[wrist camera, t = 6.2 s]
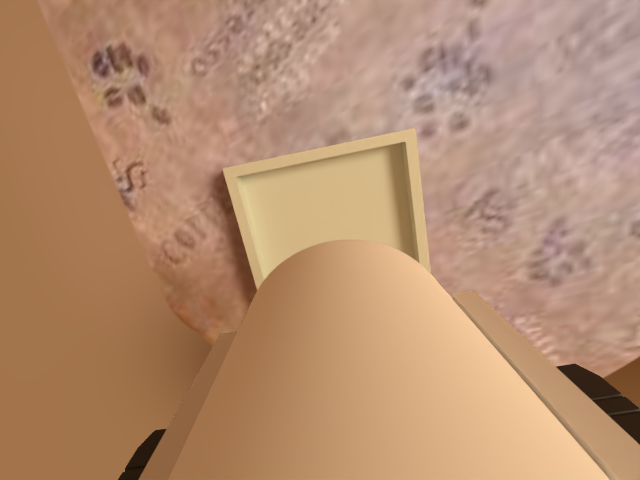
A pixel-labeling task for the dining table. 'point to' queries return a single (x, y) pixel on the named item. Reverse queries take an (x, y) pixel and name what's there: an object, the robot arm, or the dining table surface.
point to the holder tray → (331, 200)
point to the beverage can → (370, 384)
